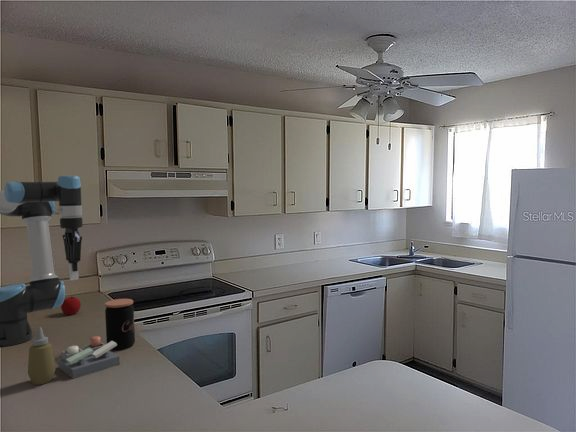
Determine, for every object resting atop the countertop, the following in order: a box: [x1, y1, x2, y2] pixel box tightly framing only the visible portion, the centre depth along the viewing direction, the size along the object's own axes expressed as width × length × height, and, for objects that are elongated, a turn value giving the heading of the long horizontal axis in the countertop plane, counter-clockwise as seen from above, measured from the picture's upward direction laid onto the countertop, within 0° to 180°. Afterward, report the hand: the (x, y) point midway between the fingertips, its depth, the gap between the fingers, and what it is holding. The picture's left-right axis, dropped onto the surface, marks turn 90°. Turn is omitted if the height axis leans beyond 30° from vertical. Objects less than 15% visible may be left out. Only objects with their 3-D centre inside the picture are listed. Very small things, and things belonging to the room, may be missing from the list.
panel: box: [57, 341, 121, 379], centre depth 157 cm, size 14×16×6 cm
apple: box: [60, 296, 82, 316], centre depth 225 cm, size 9×9×10 cm
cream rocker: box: [92, 341, 117, 358], centre depth 158 cm, size 4×8×2 cm, turn 136°
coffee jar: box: [104, 298, 136, 351], centre depth 176 cm, size 11×11×18 cm
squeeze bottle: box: [27, 326, 56, 385], centre depth 144 cm, size 8×8×18 cm
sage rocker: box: [66, 348, 94, 364], centre depth 151 cm, size 4×8×2 cm, turn 136°
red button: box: [89, 335, 102, 348], centre depth 162 cm, size 4×4×3 cm
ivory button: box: [66, 345, 80, 354], centre depth 156 cm, size 4×4×3 cm
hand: (74, 279), depth 165 cm, fingers closed
